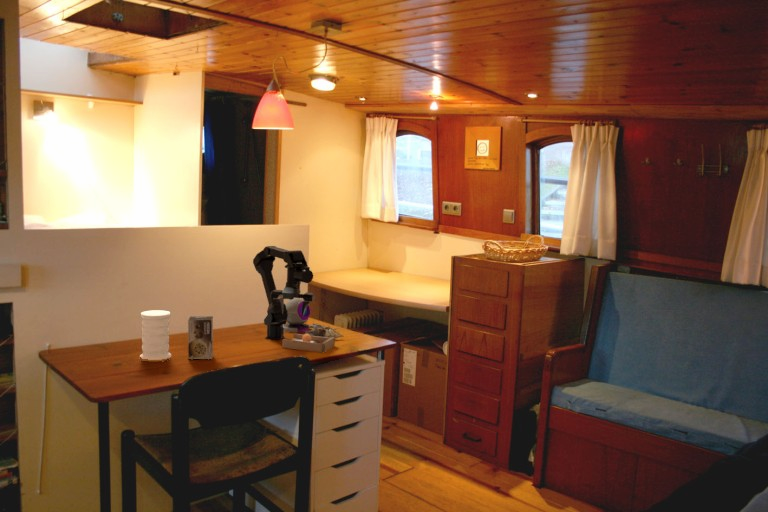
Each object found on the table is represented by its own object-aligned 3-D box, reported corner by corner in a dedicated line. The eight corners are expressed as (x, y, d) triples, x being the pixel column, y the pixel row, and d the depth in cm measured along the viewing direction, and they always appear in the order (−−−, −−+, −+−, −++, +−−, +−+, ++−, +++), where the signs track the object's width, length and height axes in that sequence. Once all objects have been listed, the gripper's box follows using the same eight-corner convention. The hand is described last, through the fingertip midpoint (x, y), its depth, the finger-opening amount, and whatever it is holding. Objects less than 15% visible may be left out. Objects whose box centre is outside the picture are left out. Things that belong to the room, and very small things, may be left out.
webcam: (297, 333, 305) (298, 302, 304) (276, 329, 312) (277, 298, 311) (314, 329, 316) (315, 298, 315) (294, 325, 323) (295, 295, 321)
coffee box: (213, 355, 263) (213, 316, 261) (211, 360, 257) (212, 319, 255) (189, 355, 261) (189, 315, 260) (187, 360, 255) (187, 319, 253)
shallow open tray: (282, 347, 280) (282, 338, 279) (294, 341, 291) (294, 332, 291) (323, 352, 274) (323, 343, 274) (334, 346, 285) (334, 337, 285)
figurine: (327, 320, 313) (353, 326, 303) (326, 333, 313) (352, 339, 303) (297, 324, 297) (324, 330, 287) (296, 337, 297) (323, 344, 287)
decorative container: (168, 362, 251) (168, 316, 249) (136, 362, 249) (136, 315, 247) (173, 354, 263) (173, 310, 261) (142, 354, 261) (142, 309, 259)
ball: (300, 343, 281) (300, 334, 281) (304, 341, 285) (304, 332, 285) (309, 344, 280) (309, 335, 280) (312, 342, 284) (313, 333, 284)
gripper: (266, 280, 276) (265, 316, 278) (309, 284, 273) (307, 320, 275) (275, 276, 287) (274, 311, 289) (316, 280, 284) (315, 315, 286)
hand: (292, 314), depth 285 cm, fingers open, 9 cm apart
